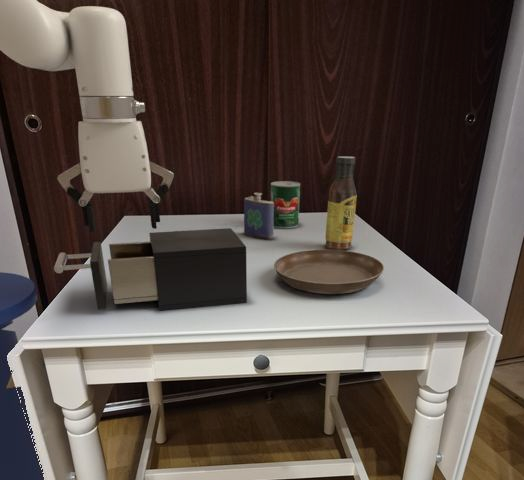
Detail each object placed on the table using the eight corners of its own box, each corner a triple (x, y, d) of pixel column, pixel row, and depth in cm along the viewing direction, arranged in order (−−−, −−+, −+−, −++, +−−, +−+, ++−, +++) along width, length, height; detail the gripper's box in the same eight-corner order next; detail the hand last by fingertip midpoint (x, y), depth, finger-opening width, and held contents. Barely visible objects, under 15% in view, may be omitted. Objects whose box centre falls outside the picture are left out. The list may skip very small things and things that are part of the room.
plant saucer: (261, 293, 87) (261, 275, 85) (286, 260, 104) (287, 245, 103) (378, 305, 82) (380, 287, 80) (384, 268, 100) (386, 252, 98)
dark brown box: (159, 310, 80) (153, 252, 75) (154, 284, 90) (149, 232, 86) (246, 302, 83) (246, 246, 78) (232, 278, 94) (230, 227, 89)
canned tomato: (280, 230, 128) (281, 186, 123) (264, 224, 134) (264, 182, 129) (304, 226, 132) (306, 184, 127) (287, 220, 138) (289, 180, 133)
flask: (275, 238, 120) (276, 194, 115) (267, 240, 118) (268, 195, 113) (248, 232, 126) (247, 189, 121) (240, 234, 124) (239, 191, 119)
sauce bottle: (345, 252, 110) (353, 159, 100) (320, 248, 113) (325, 157, 103) (356, 246, 115) (364, 156, 105) (331, 242, 118) (338, 154, 108)
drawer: (60, 313, 76) (50, 264, 72) (67, 287, 86) (58, 244, 82) (182, 302, 80) (179, 255, 77) (176, 279, 90) (172, 237, 87)
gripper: (166, 110, 76) (175, 220, 84) (48, 110, 72) (69, 226, 80) (170, 111, 69) (179, 231, 77) (41, 111, 65) (65, 237, 73)
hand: (123, 228), depth 78 cm, fingers open, 9 cm apart
